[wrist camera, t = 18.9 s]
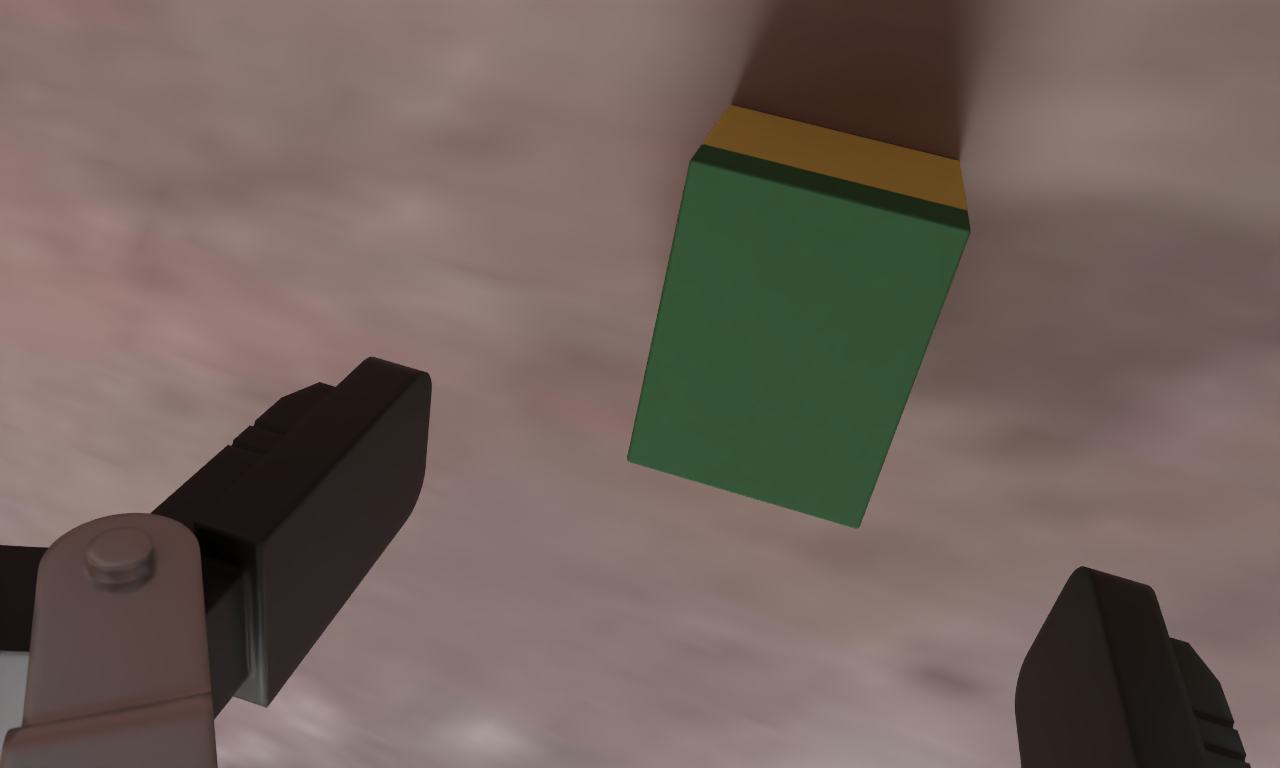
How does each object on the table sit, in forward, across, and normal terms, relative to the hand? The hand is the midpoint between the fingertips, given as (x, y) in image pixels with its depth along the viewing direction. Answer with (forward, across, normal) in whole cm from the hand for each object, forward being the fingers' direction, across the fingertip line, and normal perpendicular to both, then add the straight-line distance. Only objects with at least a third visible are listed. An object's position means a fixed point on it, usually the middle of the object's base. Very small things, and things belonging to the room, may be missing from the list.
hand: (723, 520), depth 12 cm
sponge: (+9, 0, 0) cm, 9 cm away
